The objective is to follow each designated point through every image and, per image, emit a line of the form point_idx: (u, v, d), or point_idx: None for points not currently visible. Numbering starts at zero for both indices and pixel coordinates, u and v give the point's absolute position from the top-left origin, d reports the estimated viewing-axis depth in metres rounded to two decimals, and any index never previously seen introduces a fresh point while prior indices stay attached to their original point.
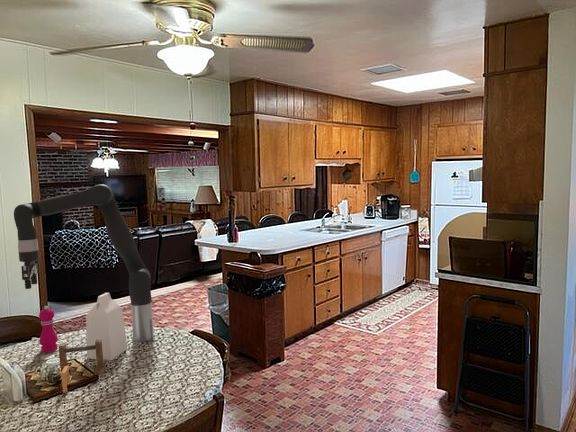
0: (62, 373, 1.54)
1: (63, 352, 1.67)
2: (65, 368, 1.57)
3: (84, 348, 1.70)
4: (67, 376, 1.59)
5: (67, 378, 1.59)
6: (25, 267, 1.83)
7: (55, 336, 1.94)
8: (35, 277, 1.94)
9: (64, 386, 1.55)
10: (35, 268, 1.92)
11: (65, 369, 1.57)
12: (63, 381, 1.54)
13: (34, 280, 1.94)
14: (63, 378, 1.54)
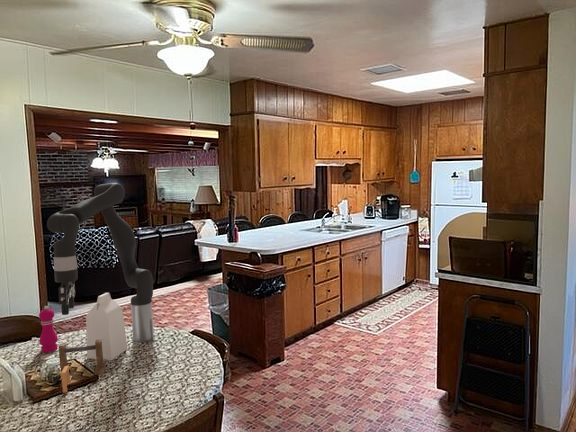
0: (62, 373, 1.54)
1: (63, 352, 1.67)
2: (65, 368, 1.57)
3: (84, 348, 1.70)
4: (67, 376, 1.59)
5: (67, 378, 1.59)
6: (63, 289, 1.54)
7: (55, 336, 1.94)
8: (72, 300, 1.65)
9: (64, 386, 1.55)
10: (73, 290, 1.63)
11: (65, 369, 1.57)
12: (63, 381, 1.54)
13: (71, 303, 1.65)
14: (63, 378, 1.54)
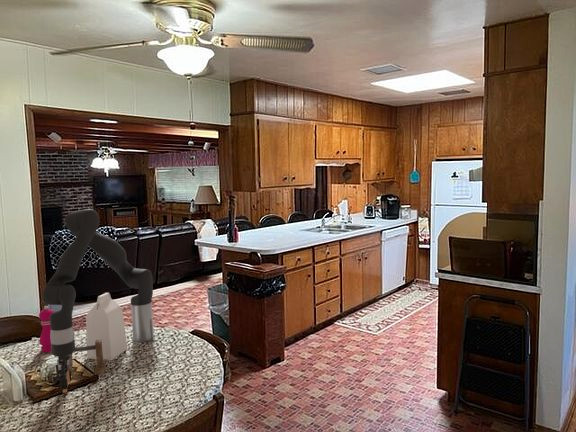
0: None
1: None
2: None
3: (84, 348, 1.70)
4: (67, 376, 1.59)
5: (67, 378, 1.59)
6: (60, 367, 1.50)
7: None
8: (69, 373, 1.60)
9: None
10: (70, 361, 1.58)
11: (65, 369, 1.57)
12: None
13: None
14: None
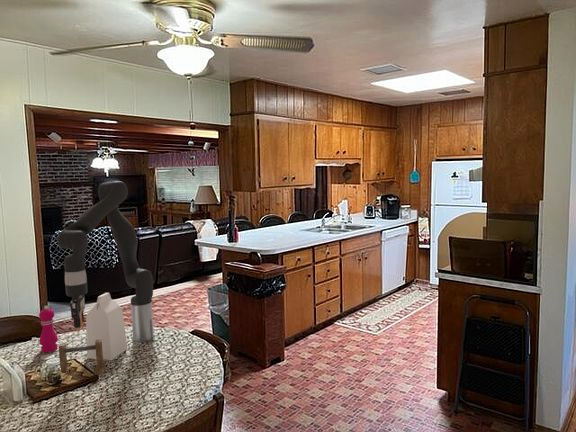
0: (75, 312, 1.66)
1: (63, 352, 1.67)
2: None
3: (84, 348, 1.70)
4: (80, 317, 1.71)
5: (80, 319, 1.71)
6: (74, 305, 1.62)
7: (55, 336, 1.94)
8: (82, 314, 1.72)
9: None
10: (83, 303, 1.70)
11: None
12: None
13: None
14: None
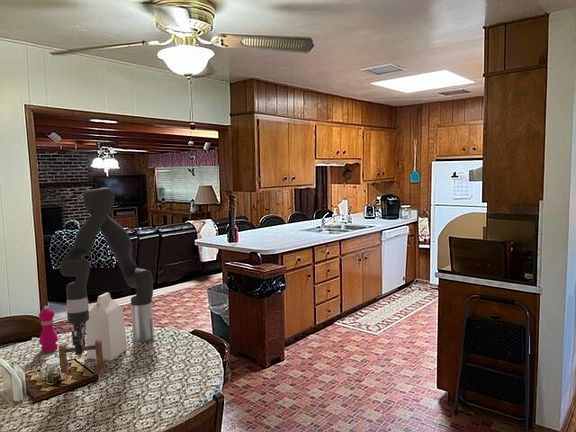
0: (77, 340, 1.67)
1: (63, 352, 1.67)
2: None
3: (84, 348, 1.70)
4: None
5: None
6: (76, 333, 1.63)
7: (55, 336, 1.94)
8: (83, 340, 1.73)
9: None
10: (84, 329, 1.71)
11: None
12: None
13: None
14: None
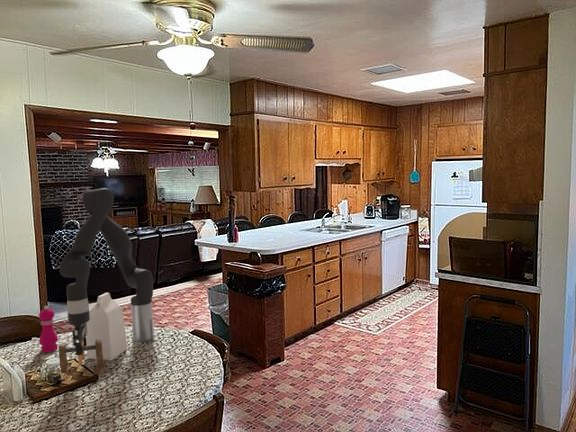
0: None
1: (63, 352, 1.67)
2: None
3: (84, 348, 1.70)
4: None
5: None
6: (76, 332, 1.63)
7: (55, 336, 1.94)
8: (84, 339, 1.74)
9: (80, 359, 1.67)
10: (85, 329, 1.71)
11: None
12: None
13: None
14: None
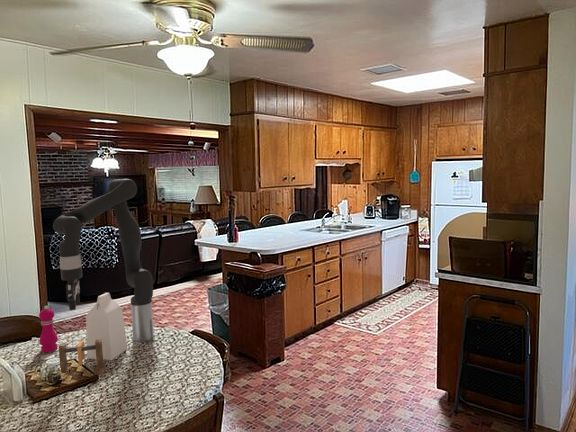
0: (78, 347, 1.67)
1: (63, 352, 1.67)
2: (80, 342, 1.70)
3: (84, 348, 1.70)
4: None
5: (82, 352, 1.72)
6: (70, 286, 1.66)
7: (55, 336, 1.94)
8: (77, 296, 1.77)
9: (80, 359, 1.68)
10: (78, 286, 1.75)
11: (80, 343, 1.69)
12: (79, 354, 1.67)
13: (76, 299, 1.77)
14: (79, 351, 1.67)
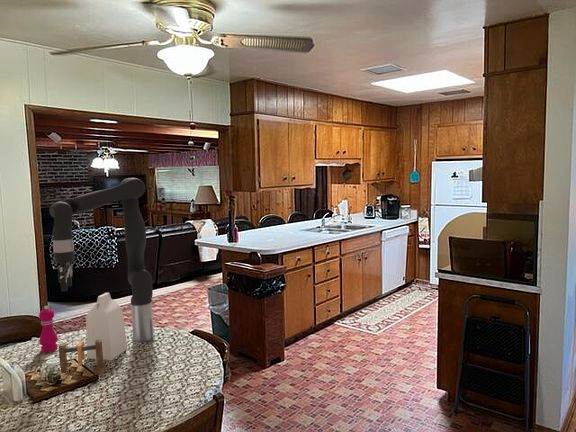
0: (78, 347, 1.67)
1: (63, 352, 1.67)
2: (80, 342, 1.70)
3: (84, 348, 1.70)
4: None
5: (82, 352, 1.72)
6: (61, 268, 1.74)
7: (55, 336, 1.94)
8: (70, 279, 1.85)
9: (79, 359, 1.67)
10: (70, 269, 1.83)
11: (80, 343, 1.69)
12: (79, 354, 1.67)
13: (69, 282, 1.85)
14: (79, 351, 1.67)
